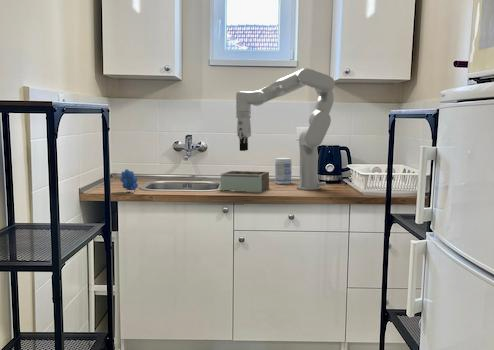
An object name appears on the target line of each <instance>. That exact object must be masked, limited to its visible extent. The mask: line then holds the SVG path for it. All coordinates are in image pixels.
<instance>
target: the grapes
mask: <svg viewBox="0 0 494 350" xmlns="http://www.w3.org/2000/svg"><path fill="white" fill-rule="evenodd" d="M120 174H121V177H120V182H121V183H122V188H123V189H125V190H126V191H127V190H136V191H137V188H138V187H139V184H138V183H137V182H138V180H139V179H138V177H137V176H135V172H134V171H132V170H131V171H130V169H126V168H125V170H124V171H122V172H121V173H120Z"/></svg>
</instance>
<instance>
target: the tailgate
mask: <svg viewBox="0 0 494 350" xmlns="http://www.w3.org/2000/svg"><path fill="white" fill-rule="evenodd" d="M221 190H234V191H233V192H235V191H250V192H249V193H263V192H262V175H249V174H222V173H220V191H221Z"/></svg>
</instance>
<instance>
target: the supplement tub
mask: <svg viewBox="0 0 494 350" xmlns="http://www.w3.org/2000/svg"><path fill="white" fill-rule="evenodd" d="M274 163H275V164H274V165H275V166H274V167H275V168H274V178H275V179H274V182H275V184H278V185H290V184H291V183H292V158H289V157H276V158H275V162H274Z"/></svg>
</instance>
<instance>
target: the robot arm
mask: <svg viewBox="0 0 494 350" xmlns="http://www.w3.org/2000/svg"><path fill="white" fill-rule="evenodd" d="M335 85H336V83H335V80H334V78H333V77H332V76H330V75H329V74H325V73H322V72H319V71H316V70H314V69H311V68H307V67H305V68H301V69H300V70H297V71H295V72H293V73H291V74H289V75H286V76H284V77H281V78H279V79H277V80H275V81H274V82H272V83H271V84H268V85H267V86H265V87H263V88H261V89H258V90H254V91H246V90H242V91H237V92H236V94H235V108H236V109H235V110H236V112H235V114H236V115H235V118H236V119H237V123H236V124H237V126H236V129H237V131H236V134H237V137H238V140H239V151H241V152H246V151H249V137H251V136H252V128H251V127H252V126H251V125H252V124H251V118H252V117H251V114H252V113H251V111H252V109H251V108H252V107H251V106H256V107H258V106H262V105H263V104H265V103H267V102H269V101H273V100H274V99H277V98H279V97H283V96H286V95H287V94H290V93H292V92H294V91H296V90H298V89H301V88H303V87H305V86H307V87H310V88H312V89H314V91H315V92H316V95H317V99H316V102H315V104H314V105H315V106H314V107H313V109H312V112H311V114H310V115H309V118H308V124H309V126H308V129H305V130H303V131H302V132H301V133H300V135H299V138H298V145H299V185H297V186H296V189H298V190H303V191H304V190H305V191H314V190H315V191H316V190H320V189H321V186H322V187H324V186H326V185H327V184H326V181H320V179H318V175H319V174H318V173H319V171H318V166H319V163H318V160H319V155H318V154H319V153H318V151H319V150H318V147H319V146H320V145H321V144H322V143H323V140H324V139H325V136H326V135H327V132H328V130H329V128H330V126H331V122H332V118H331V115H330V112H331V110H332V108H333V105H334V101H335V97H334V92H333V89H334V88H335Z"/></svg>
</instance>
